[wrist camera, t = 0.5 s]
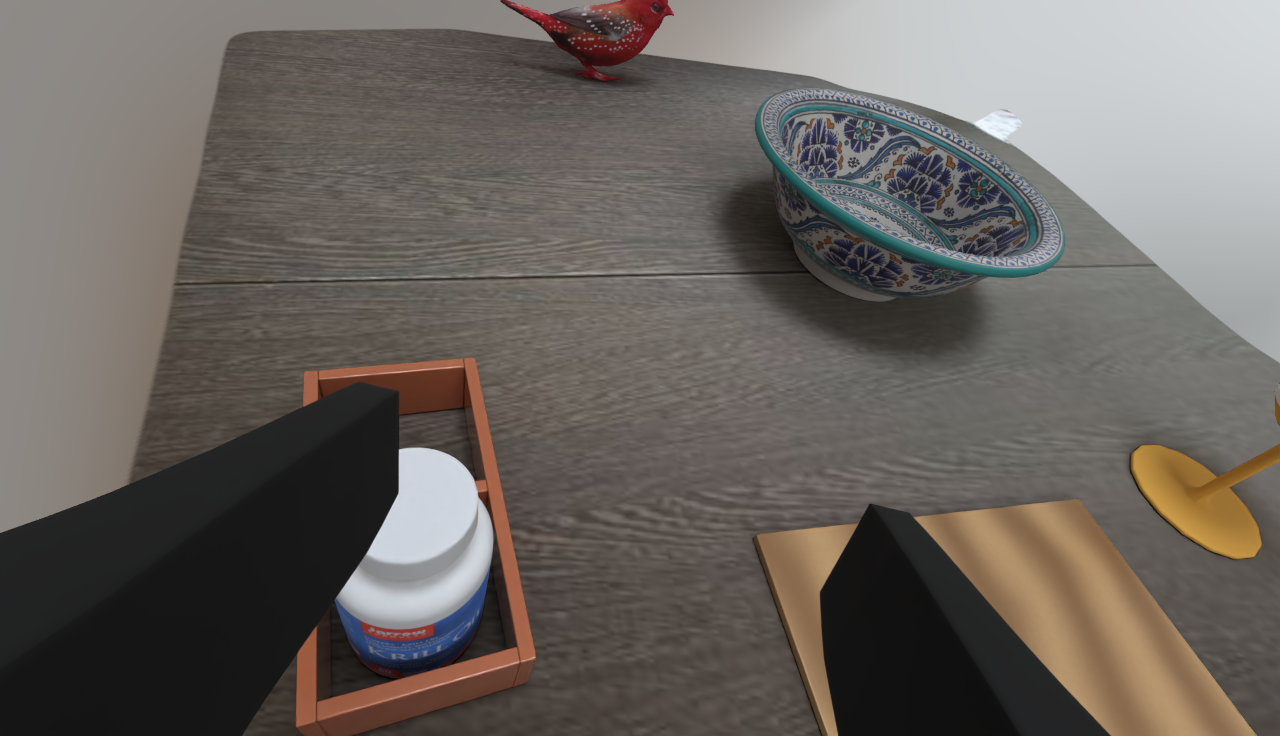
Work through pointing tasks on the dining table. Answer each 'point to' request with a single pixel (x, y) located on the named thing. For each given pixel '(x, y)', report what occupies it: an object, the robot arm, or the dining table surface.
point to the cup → (1202, 496)
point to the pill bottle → (421, 571)
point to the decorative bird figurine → (601, 30)
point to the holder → (418, 694)
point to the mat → (1032, 614)
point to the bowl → (898, 199)
